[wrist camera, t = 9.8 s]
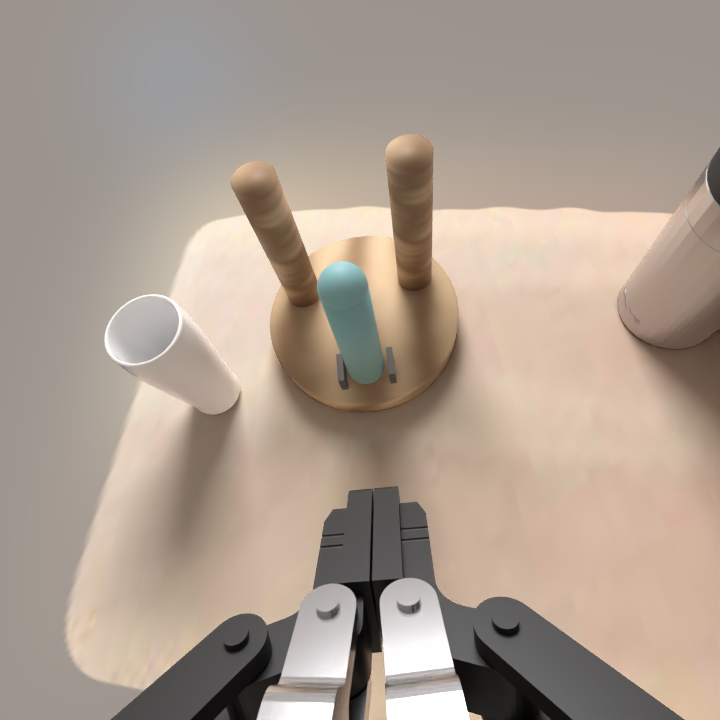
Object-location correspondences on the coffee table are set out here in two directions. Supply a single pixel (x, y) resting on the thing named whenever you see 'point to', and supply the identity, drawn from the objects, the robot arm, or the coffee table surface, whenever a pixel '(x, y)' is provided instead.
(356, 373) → the teal capsule cylinder
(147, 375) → the drinking glass
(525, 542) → the coffee table surface
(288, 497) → the coffee table surface
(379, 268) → the stool
